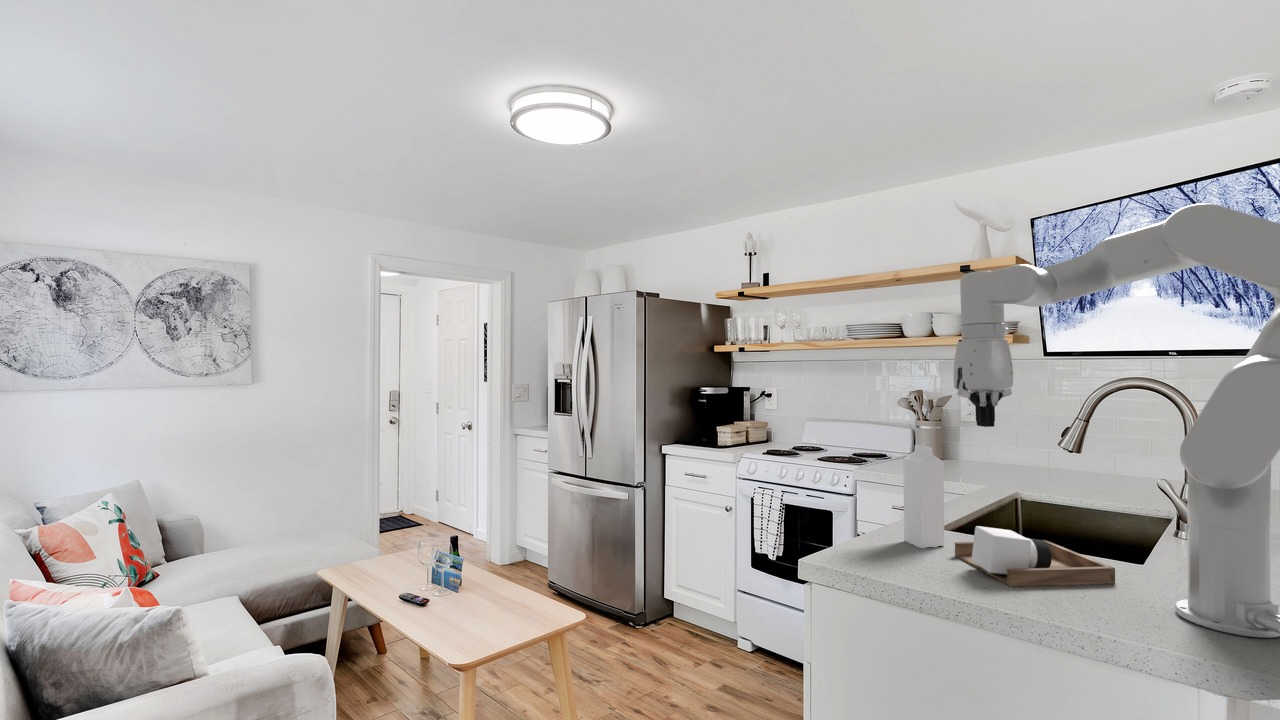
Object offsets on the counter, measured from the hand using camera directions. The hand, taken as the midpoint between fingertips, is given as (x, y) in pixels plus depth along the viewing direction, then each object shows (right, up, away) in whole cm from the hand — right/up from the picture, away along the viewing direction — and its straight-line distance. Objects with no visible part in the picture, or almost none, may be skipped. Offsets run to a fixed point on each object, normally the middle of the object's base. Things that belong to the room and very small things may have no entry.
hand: (985, 426), depth 124 cm
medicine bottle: (-3, -23, -3) cm, 24 cm away
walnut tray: (+8, -28, -1) cm, 29 cm away
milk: (-5, -29, +17) cm, 33 cm away
